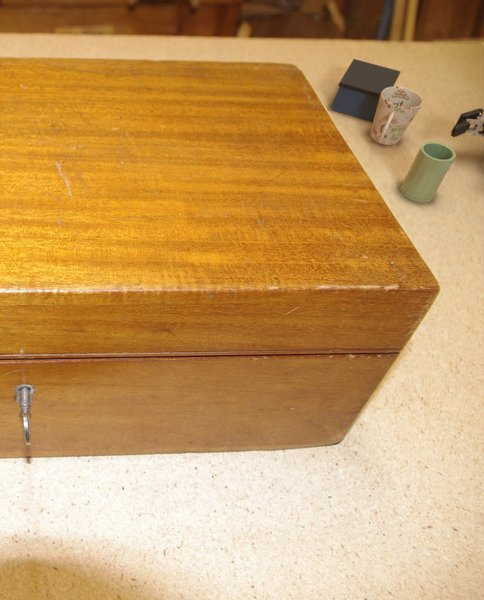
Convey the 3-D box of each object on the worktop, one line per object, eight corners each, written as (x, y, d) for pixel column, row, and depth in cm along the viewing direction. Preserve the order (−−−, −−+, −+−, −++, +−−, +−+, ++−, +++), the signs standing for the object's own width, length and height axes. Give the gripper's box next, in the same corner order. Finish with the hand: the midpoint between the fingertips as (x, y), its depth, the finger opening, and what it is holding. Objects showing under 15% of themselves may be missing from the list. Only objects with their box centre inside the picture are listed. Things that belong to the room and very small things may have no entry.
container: (388, 98, 165) (400, 71, 160) (376, 123, 158) (388, 96, 152) (343, 85, 169) (353, 58, 164) (329, 109, 161) (339, 82, 156)
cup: (435, 189, 142) (458, 148, 134) (429, 206, 138) (452, 164, 131) (403, 179, 144) (424, 138, 136) (397, 195, 140) (418, 154, 133)
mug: (407, 134, 155) (426, 93, 148) (395, 162, 148) (415, 121, 140) (369, 122, 158) (386, 82, 151) (355, 150, 150) (372, 109, 143)
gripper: (503, 89, 145) (450, 109, 140) (567, 123, 137) (513, 146, 132) (485, 120, 151) (434, 140, 145) (545, 155, 143) (493, 178, 137)
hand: (471, 143), depth 139 cm, fingers open, 8 cm apart
